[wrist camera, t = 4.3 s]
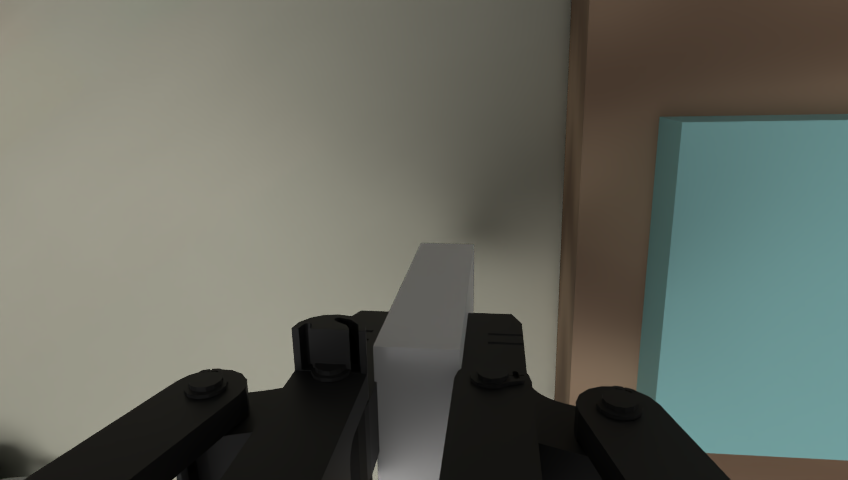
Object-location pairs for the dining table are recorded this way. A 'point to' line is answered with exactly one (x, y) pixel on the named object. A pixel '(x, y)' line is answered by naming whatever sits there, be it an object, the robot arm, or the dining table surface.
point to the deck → (637, 146)
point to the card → (750, 283)
